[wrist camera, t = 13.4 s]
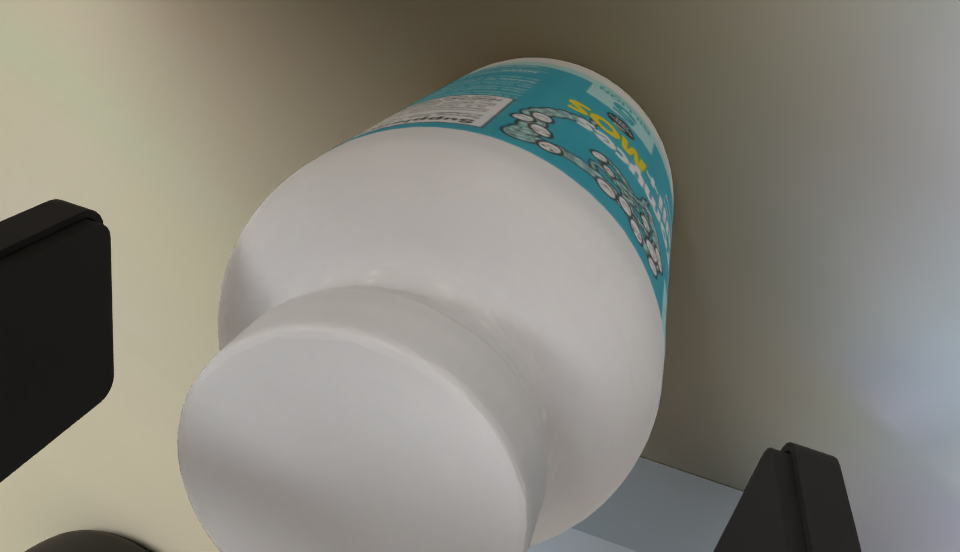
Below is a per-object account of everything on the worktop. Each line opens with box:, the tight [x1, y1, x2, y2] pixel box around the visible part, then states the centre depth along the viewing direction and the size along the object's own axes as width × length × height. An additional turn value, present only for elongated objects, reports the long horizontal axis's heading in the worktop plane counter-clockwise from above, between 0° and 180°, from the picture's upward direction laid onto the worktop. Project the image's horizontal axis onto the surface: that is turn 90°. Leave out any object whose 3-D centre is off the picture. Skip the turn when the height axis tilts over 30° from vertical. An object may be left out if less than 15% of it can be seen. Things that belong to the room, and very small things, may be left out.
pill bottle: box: [177, 58, 674, 552], centre depth 15 cm, size 8×7×14 cm
